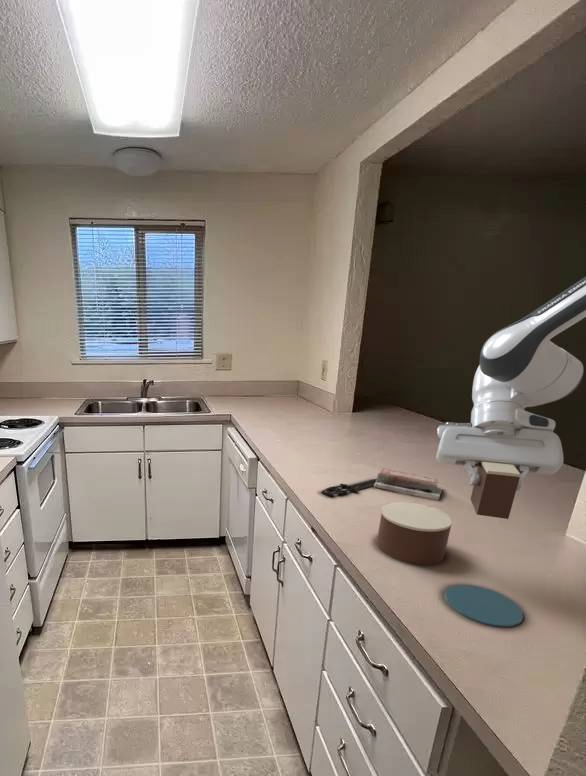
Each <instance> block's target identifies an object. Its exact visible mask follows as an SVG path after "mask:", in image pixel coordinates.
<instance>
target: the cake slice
mask: <svg viewBox="0 0 586 776" xmlns="http://www.w3.org/2000/svg"><path fill="white" fill-rule="evenodd" d="M476 474H477V475H481V483H480V485H479V486H473V485H472V489H471V495H470V502H471V504H472V506H473V509H474V511H475V513H476V515H477V516H484V517H490V518H491V517H492V518H498V519H505V520H509V518H510V516H511V515H510V514H511V512H512V508H513V505H514V500H515V496H516V492H517V491H516V489H517V486H518V482H519V479H520V475H521V474H520V473H519V471H518V470H517V469H516V468H515V466H514V465H513V464H505V463H495V462H485V461H480V462H479V467H477V469H476Z"/></svg>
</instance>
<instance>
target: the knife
mask: <svg viewBox="0 0 586 776" xmlns="http://www.w3.org/2000/svg"><path fill="white" fill-rule="evenodd" d="M376 480H377V478H374V479H369V480H366V481H362V482H358V483H354V484H350V485H348V484H346V483H340V484H339V485H336V486H335V485H333V486H329V487H327V488H325V489H323V490H321V491H320V493H321V494H322V495H324V496H326V497H328V498H334V495H338V497H343V496H346V495H348V492H349V493H354V494H357V493H358V490H359V491H360V490H363V489H366V488H369V487H370V488H371V487H374V484H375V482H376ZM340 488H341V489H340ZM332 491H333V492H332Z"/></svg>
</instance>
